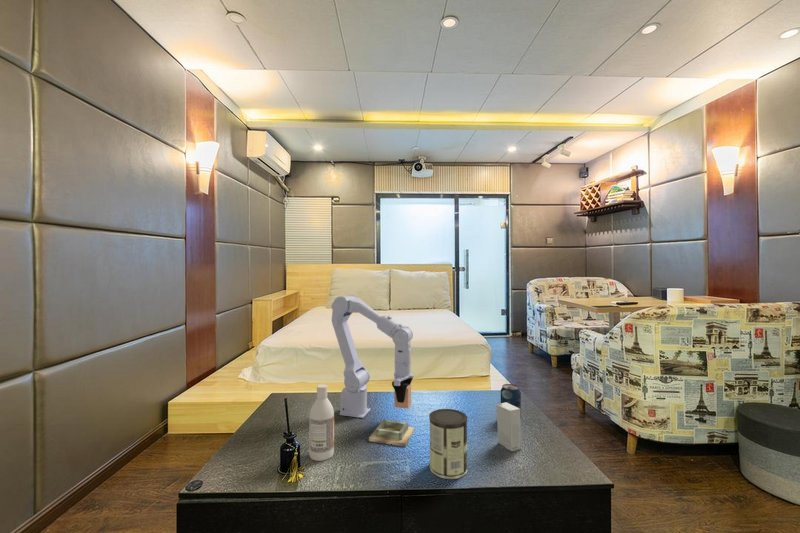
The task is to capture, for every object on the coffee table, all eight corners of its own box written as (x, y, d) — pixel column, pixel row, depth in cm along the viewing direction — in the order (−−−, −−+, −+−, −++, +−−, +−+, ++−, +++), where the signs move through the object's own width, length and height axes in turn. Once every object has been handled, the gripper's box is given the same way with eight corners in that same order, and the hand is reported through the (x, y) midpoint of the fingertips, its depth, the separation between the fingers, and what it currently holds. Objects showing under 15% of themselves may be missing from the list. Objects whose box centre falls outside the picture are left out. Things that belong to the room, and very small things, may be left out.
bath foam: (335, 459, 98) (336, 388, 98) (310, 463, 95) (310, 391, 95) (331, 447, 104) (332, 380, 104) (308, 451, 102) (308, 383, 102)
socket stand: (368, 441, 108) (368, 431, 108) (380, 425, 118) (380, 417, 118) (405, 446, 104) (405, 436, 104) (414, 430, 115) (414, 421, 115)
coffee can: (446, 453, 101) (446, 405, 101) (475, 469, 93) (475, 416, 93) (421, 467, 94) (421, 415, 94) (450, 485, 86) (450, 428, 86)
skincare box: (522, 449, 103) (522, 408, 103) (510, 452, 101) (510, 411, 101) (507, 439, 109) (507, 401, 109) (496, 443, 107) (496, 403, 107)
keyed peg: (394, 407, 122) (394, 387, 122) (397, 402, 126) (397, 383, 126) (408, 408, 120) (408, 388, 120) (410, 404, 124) (411, 384, 124)
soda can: (509, 426, 118) (509, 391, 119) (496, 418, 125) (496, 384, 125) (525, 422, 121) (525, 388, 121) (511, 414, 128) (511, 382, 128)
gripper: (408, 368, 115) (408, 408, 115) (418, 357, 129) (418, 393, 129) (388, 366, 117) (387, 406, 117) (400, 356, 131) (400, 391, 131)
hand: (402, 399), depth 123 cm, fingers closed on keyed peg, 4 cm apart
